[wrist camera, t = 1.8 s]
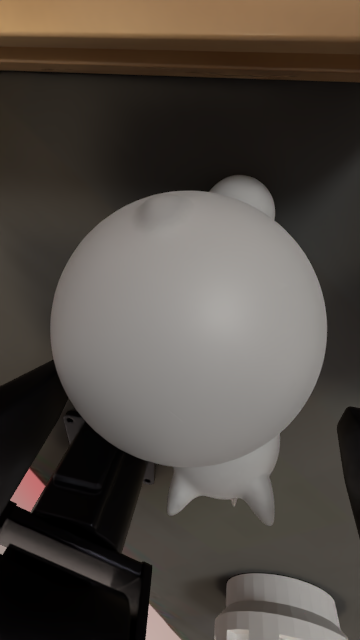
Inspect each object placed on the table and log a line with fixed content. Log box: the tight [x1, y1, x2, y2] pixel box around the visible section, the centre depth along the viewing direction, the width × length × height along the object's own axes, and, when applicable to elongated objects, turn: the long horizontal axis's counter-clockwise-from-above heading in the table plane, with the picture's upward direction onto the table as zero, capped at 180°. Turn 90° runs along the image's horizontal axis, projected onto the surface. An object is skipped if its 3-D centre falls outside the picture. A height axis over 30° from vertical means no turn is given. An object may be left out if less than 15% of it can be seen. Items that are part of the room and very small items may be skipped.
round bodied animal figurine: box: [50, 175, 327, 526], centre depth 10 cm, size 7×12×8 cm, turn 14°
